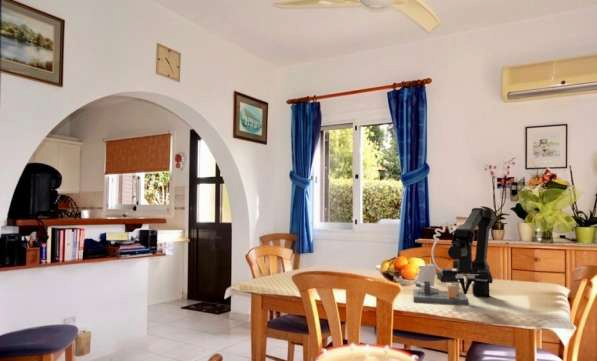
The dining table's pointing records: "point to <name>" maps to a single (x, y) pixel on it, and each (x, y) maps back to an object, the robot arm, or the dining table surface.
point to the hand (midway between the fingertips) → (465, 294)
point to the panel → (438, 296)
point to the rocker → (424, 287)
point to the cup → (427, 274)
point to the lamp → (439, 274)
